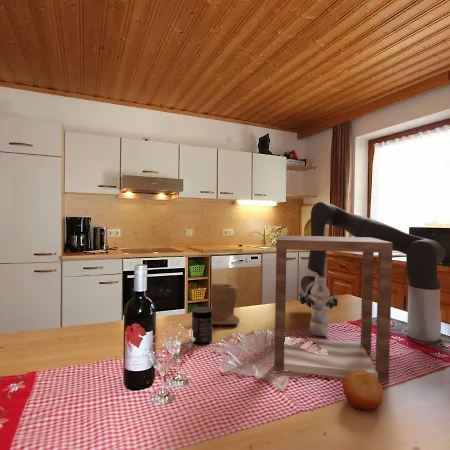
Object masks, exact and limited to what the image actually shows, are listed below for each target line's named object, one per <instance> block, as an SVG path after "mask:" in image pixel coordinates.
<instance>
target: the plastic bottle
mask: <svg viewBox="0 0 450 450" xmlns="http://www.w3.org/2000/svg"><path fill="white" fill-rule="evenodd" d="M314 277H315V285H314V286H313V288H312V289H311V301H312V305H311V315H310V316H311V317H310V321H309V322H310V323H309V331H310V333H311V335H314V336H317V337H326V336H327V335H328V334H329V331H330V325H329V316H328V309H329V306H328V302H329V296H330V297H331V292H330V290H329V288H328V287H327V286H328V285H327V281H326V280H327V278H326V277H323V276H318V275H317V276H314ZM325 283H326V285H325Z"/></svg>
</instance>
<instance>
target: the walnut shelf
mask: <svg viewBox="0 0 450 450" xmlns="http://www.w3.org/2000/svg"><path fill="white" fill-rule="evenodd" d="M392 245H393V243H392V242H388V241H384V240H380V239H376V238H369V237H354V236H327V235H326V236H325V235H324V236H311V235H285V234H284V235H283V234H282V235H279V234H278V236H277V238H276V246H275V247H276V248H275V249H276V250H275V253H276V254H275V255H276V256H275V259H276V262H275V302H274V303H275V309H274V312H275V313H274V314H275V315H274V316H275V317H274V356H273V357H274V359H273V361H274V365H273V367H274V369H273V370H274V371H278V370H288V371H293V372H292V373H298V374H309V375H317V376H318V375H319V376H327V377H336V378H337V377H338V378H344V377H345V376H346V374H348V373H349V372H351V371H354V370H365V371H367V372H368V373H369V374H371V375H373V376H375V377H376V378H377V379H378V381H379V382H385V383H389V382H390V349H391V346H390V345H391V319H392V317H391V315H392V314H391V312H392V311H391V310H392V309H391V307H392V281H393V280H392V279H393V277H392V276H393V275H392V272H393V271H392V270H393V250H392ZM287 250H288V251H289V250H291V251H310V250H315V251H326V252H350V253H354V252H355V253H362V265H361V266H362V271H361V272H362V273H361V276H362V278H361V305H360V306H361V309H360V311H361V313H360V314H361V315H360V341H353V340H352V341H351V340H350V341H349V340H337V339H326V338H325V339H324V338H314V337H313V338H312V337H306V338H307V339H309V340H310V341H312V342H313V343H316V344H318V345H319V346H321V348H323V349H326V350H327V353H328V355H325V356H324V355H320V354H316V353H313V352H308V351H307V350H305V349H302V348H300V347H301V346H302V344H304V342H300V343H296V344H293V345H288V344H285V345H284V342H285V336H286V308H287V307H286V299H287V295H286V294H287V291H286V290H287V253H288V252H287ZM374 253H378V255H377V256H378V259H377V260H378V261H377V262H378V263H377V291H376V292H377V295H376V296H377V297H376V330H375V331H376V339H375V340H376V341H375V365H374V363H373V362H372V360H371V358H370V356H369V355H368V354H369V353H370V354H371V353H372V333H373V331H372V329H373V293H374V292H373V290H374V289H373V288H374V285H373V284H374V259H375V258H374V256H375V255H374ZM287 336H288V337H290V338H296V337H297V336H290V335H287ZM288 371H287V372H288Z"/></svg>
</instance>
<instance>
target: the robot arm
mask: <svg viewBox="0 0 450 450" xmlns="http://www.w3.org/2000/svg"><path fill="white" fill-rule="evenodd" d="M326 226H331V227H336V228H337V229H338V228H339V229H342V230H344V231H346V232H347V233H348V234H350V235H351V237H369V238H376V239H380V240H384V241H388V242H392V243H393V245H392V251H397V252H399V253H402V254H404V255H405V256H406V257H405V258H406V259H405V261H406V262H405V263H406V269H405V270H406V271H405V272H406V278H407V280H408V286H407V287H408V290H407V291H408V292H407V293H408V295H407V296H408V297H407V324H406V325H407V326H406V335H407V336H408V337H410V338H411V339H415V340H417V341H421V342H426V343H427V342H428V343H431V342H433V343H435V342H438V341H439V340H440V339H441V337H442V332H441V331H442V310H441V307H440V306H441V280H440V279H439V278H438V265H439V264H441V263H442V262H443V261H444V259H445V257H446V251H445V249H444V247H443V246H442V245H441V244H440V243H439V242H437V241H436V240H434V239H430V238H425V237H421V236H417V235H413V234H410V233H406V232H405V231H402V230H400V229H398V228H395V227H392V225H391V226H390V225H388V224H385V223H383V222H382V221H379V220H376V219H373V218H370V217H367V216H363V215H359V214H354V213H351V212H348V211H346V210H344V209H342V208H341V207H338V206H336V205H334V204H331V203H328V202H324V201H319V202H316V203H315V204H314V205H313V206H312V207H311V211H310V236H325V227H326ZM308 254H309V255H308V263H307V269H308V270H309V271H311V272H314V273H317V276H323V277H325V267H326V261H327V260H326V259H327V251H315V250H309V253H308ZM315 277H316V276H312V275H304V276H303V277H302V278H301V280H300V287H301V290H302V292H304V293H305V294H303V293H301V292H300V293H298V301H299V303H300V304H302V305H305V304H306V306H307V307H308V308H312V301H311V289H312V288H313V286H314V285H315ZM325 285H326V286H327V282H326V283H325ZM338 299H339V297H338V295H337V294H335V295H332V296H331V295H330V296H329V302H328V309H329V310H330V309H331V310H332V308H334V307H338V304H339V303H338V301H339V300H338Z"/></svg>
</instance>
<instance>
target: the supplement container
mask: <svg viewBox="0 0 450 450" xmlns="http://www.w3.org/2000/svg"><path fill="white" fill-rule="evenodd" d="M212 318H213V309H212V307H210V306H209V307H208V306H196V307H193V308H192V309H191V331H192V330H193V337H194V343H193V344H194V345H196V346H206V345H210V344H211V343H212V342H213V325H212Z"/></svg>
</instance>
